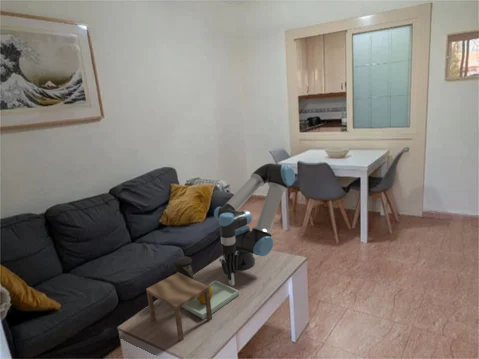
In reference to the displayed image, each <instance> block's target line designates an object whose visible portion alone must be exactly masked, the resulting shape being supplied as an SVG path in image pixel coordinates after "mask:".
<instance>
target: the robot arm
mask: <svg viewBox="0 0 479 359" xmlns="http://www.w3.org/2000/svg"><path fill="white" fill-rule="evenodd" d="M295 179H296V173H295V170H294V168H293V167H292V166H291V165H287V164H277V163H271V162H270V163H266V164H263V165H261V166H260V167H258V168H256V169H255V170H254V171H253V172H252V173H251V175H250V178H249V179H248V180H247V181H246V182H245V183H244V184H243V185H242V186H241V187H240V188H239V190H237V192H235V194H233V196H232V197H231V198H230V199H229V200H227V202H226V203H225V204H224V205H223V206H217V207H216V208H215V209H214V212H213V215H214V218H215V219H216V220H218V224H219V232H220V233H219V234H220V243H221V251H222V257H221V258H219V260H218V261H219V262H220V264H221V267H222V272H223V273H224V274H225V275H227V280H228V284H229V286H235V274H236V273H237V270H240V271H241V270H247V269H248V270H249V269H251V268H253V267H254V266H255V264H256V259H255V256H254V255H256V256H259V257H265V256H267V255H268V254H270V253H271V251H272V250H273V247H274V239H273V238H272V236H273V234H272V232H271V230H272V227H273V225H274V222H275V218H276V215H277V212H278V209H279V206H280V205H281V204H280V203H281V200H282V197H283V195H284V192H286V191H287V190H288V188H289V187H290V186H293V185H294V183H295ZM265 184H267V185H268V191H267V193H266V196H265V199H264V202H263V205H262V207H261V211H260V213H259V217H258V219H257V222H256V225H255V226H253V227H252V229H251V228H250V226H249V225H248V224H251V223H252V219H253V217H252V214H251V212H250V211H249V210H247V209H244V210H241V211H238V210H240V209H241V208H242V207H243V205H245V203H246V202H247V201H248V200H249V199H250V198H251V196H252V195H253V194H254V193H256V191H257V190H258V189H259V188H260V187H263V186H264V185H265Z"/></svg>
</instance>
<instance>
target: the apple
mask: <svg viewBox="0 0 479 359" xmlns="http://www.w3.org/2000/svg"><path fill="white" fill-rule="evenodd" d="M203 284H204V285H206V286H208V287H209V293H210V300H211V298H212V294H213V292H212V288H211V287H210V286H209V285H208V284H206V283H203ZM197 299H198V300H199V301H200V302H201V303H203V304H205V294H204V293H203V294H201V295H200V296H198V297H197Z"/></svg>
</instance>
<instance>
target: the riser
mask: <svg viewBox="0 0 479 359" xmlns="http://www.w3.org/2000/svg"><path fill="white" fill-rule="evenodd" d="M204 284H205V283H201V282H200V281H197V280H196V279H194V278H193V279H192V278H189V277H187V276H185V275H183V274H181V273H179V272H176V273H174V274H172V275H169V276H168V277H166V278H164V279H163V280H160V281H159V282H156V283H155V284H153V285H150V286H148V287H147V288H146V289H145V290H146V295H147V296H146V297H147V301H148V302H147V303H148V308H149V309H148V310H149V316H150V321H151V322H152V323H154V322H155V321H157V318H156V311H155V304H154V298H156V299H158V300H159V301H161V302H163V303H165V304H166V305H168V306H170V307H171V308H173V310H174V317H175V323H176V324H175V326H176V332H177V339H178V341H179V342H182V341H183V340H184V339H185V338H184V330H183V323H182V316H181V315H182V314H181V308H183V307H182V306H184V305H185V304H187V303H189V302H190V301H192V300H193V299H195V298H197V297H198V296H200V295H201V294H203V293H204V294H205V304H206V313H207V318H206V319H207V320H208V321H209V322H210V321H211V320H213V313H212V312H211V303H210V293H209V287H208V286H206V285H204ZM153 297H154V298H153Z"/></svg>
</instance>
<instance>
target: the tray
mask: <svg viewBox="0 0 479 359" xmlns="http://www.w3.org/2000/svg"><path fill="white" fill-rule="evenodd" d="M207 285H209V286H210V287H211V288H212V292H213V294H212V298H211V300H210V303H211V312H212V314H214V313H215V312H216V311H218V310H220V309H221V308H223V307H224V306H225V305H227V304H228V303H230V302H231V301H233V300H234V299H236V298H237V297H238V296H240V294H239V293H240V292H239V290H238V289H236V288H234V287H231V286H230V285H227V284H225V283H223V282H221V281H218V280H213V281H212V282H210V283H209V284H207ZM181 308H183V309H184V310H186V311H188V312H189V313H191V314H193V315H195V316H197V317H198V318H200V319H202V320H205V319H207V313H206V304H203V303H201V302H200V301H199V300H198V299H197V298H195V299H193V300H192V301H190V302H189V303H187V304H185V305H184V306H182V307H181Z"/></svg>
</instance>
